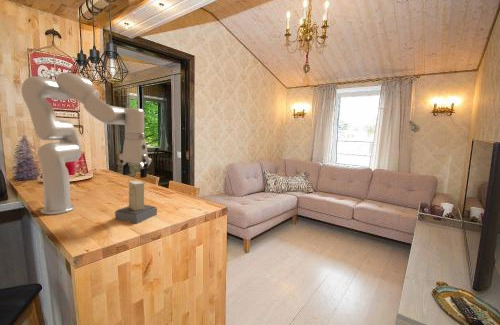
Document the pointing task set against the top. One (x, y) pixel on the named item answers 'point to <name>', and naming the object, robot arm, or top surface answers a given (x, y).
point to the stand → (135, 214)
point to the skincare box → (136, 195)
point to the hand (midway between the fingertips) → (134, 176)
